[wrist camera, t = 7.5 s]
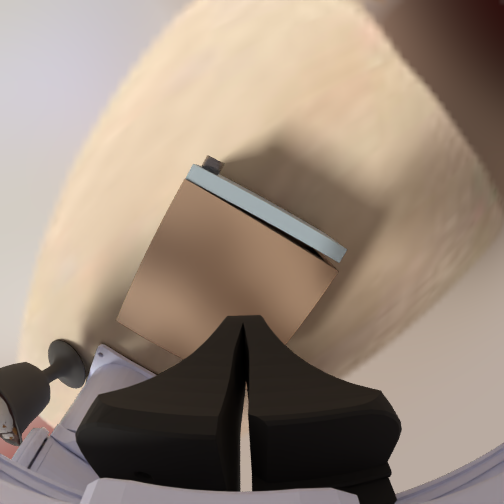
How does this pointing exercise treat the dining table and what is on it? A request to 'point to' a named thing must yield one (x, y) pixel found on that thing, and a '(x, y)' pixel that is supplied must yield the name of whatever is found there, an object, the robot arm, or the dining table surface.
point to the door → (262, 208)
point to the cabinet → (220, 274)
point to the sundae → (34, 388)
